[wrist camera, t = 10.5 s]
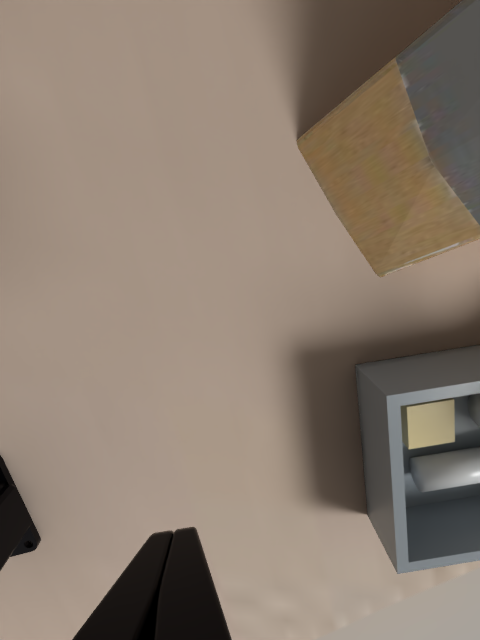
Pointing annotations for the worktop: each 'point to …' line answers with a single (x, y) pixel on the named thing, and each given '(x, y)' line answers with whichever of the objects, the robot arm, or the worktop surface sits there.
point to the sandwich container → (408, 149)
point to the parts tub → (423, 456)
